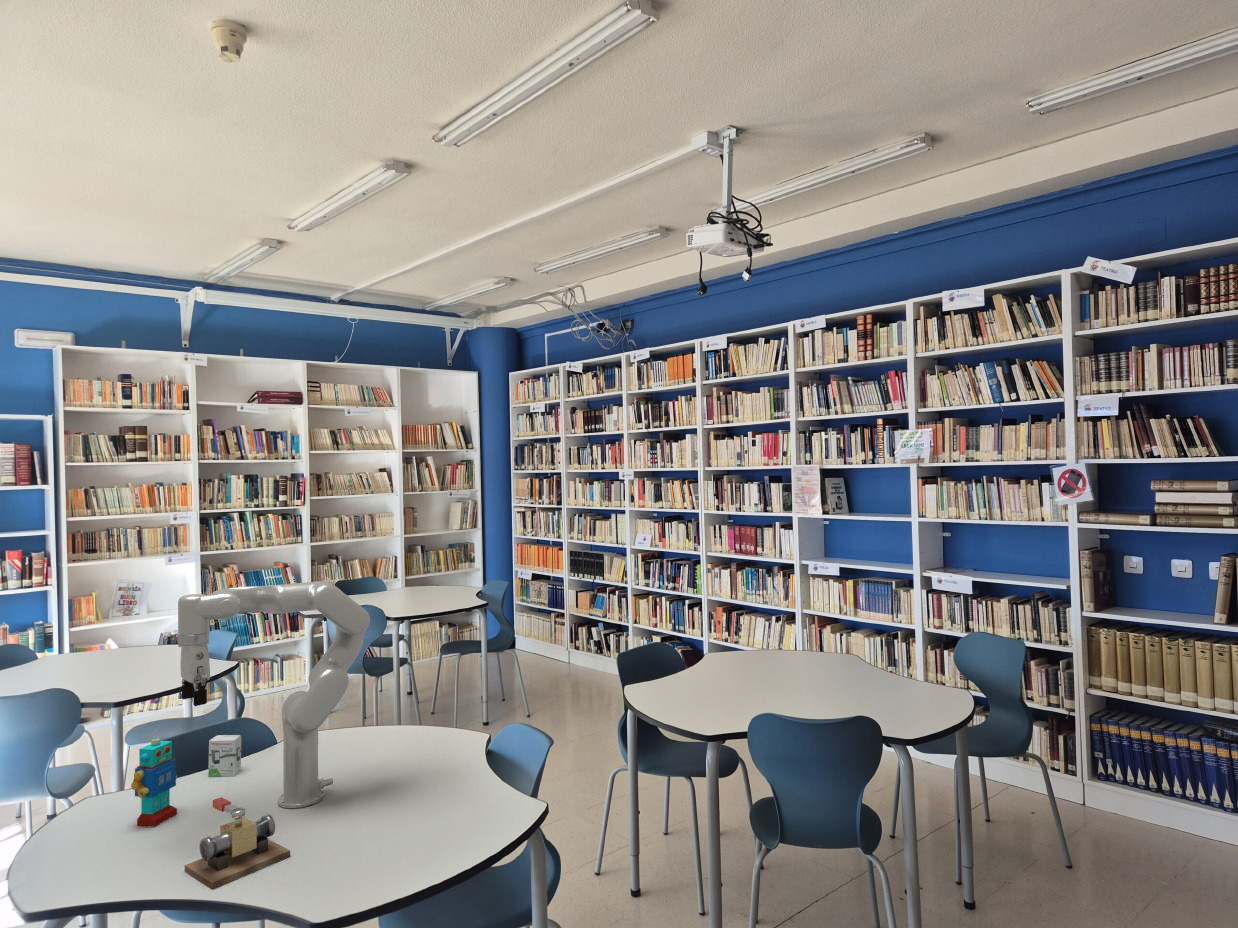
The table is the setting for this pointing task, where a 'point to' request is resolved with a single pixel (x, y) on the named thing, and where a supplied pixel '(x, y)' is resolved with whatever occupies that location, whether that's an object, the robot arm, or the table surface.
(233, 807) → the valve lever
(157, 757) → the toy robot
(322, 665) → the robot arm
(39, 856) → the table surface
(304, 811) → the table surface
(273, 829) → the valve pipe
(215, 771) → the ink box
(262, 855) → the mounting board
